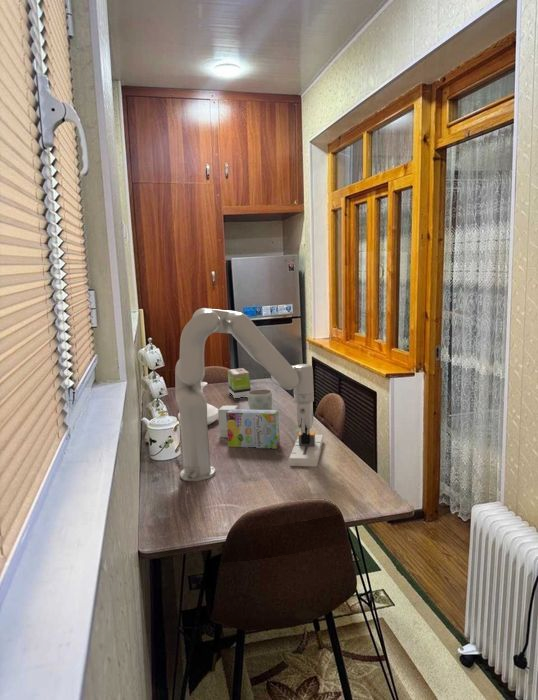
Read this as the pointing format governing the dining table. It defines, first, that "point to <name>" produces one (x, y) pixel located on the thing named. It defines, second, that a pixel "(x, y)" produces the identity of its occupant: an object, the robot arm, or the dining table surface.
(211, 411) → the candle holder
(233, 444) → the snack box
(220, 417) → the supplement box
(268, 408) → the planter
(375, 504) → the dining table surface
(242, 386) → the tea box
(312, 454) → the fader console
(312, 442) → the fader knob
